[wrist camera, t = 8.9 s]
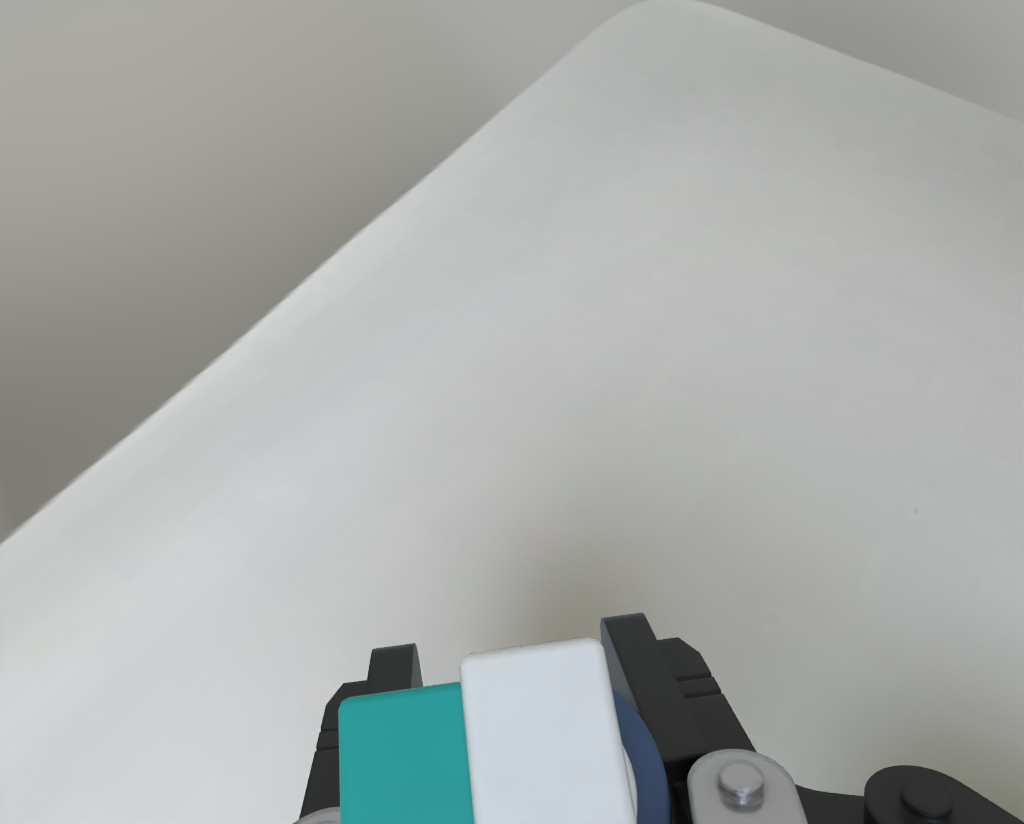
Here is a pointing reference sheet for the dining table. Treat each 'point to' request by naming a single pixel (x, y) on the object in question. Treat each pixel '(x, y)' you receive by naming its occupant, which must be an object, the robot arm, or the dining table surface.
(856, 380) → the dining table surface
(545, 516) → the dining table surface
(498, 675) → the toothbrush
